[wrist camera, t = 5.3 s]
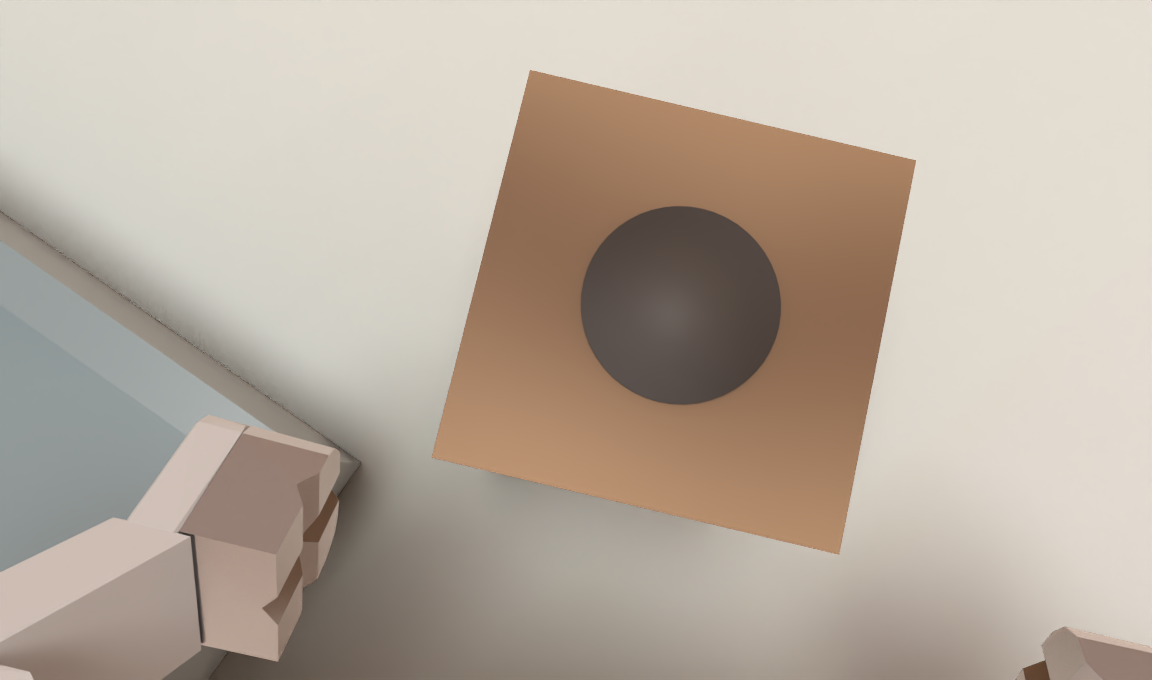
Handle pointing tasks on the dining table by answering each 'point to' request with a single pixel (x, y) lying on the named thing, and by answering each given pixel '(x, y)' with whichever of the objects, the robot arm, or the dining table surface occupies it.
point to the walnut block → (678, 312)
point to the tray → (99, 405)
